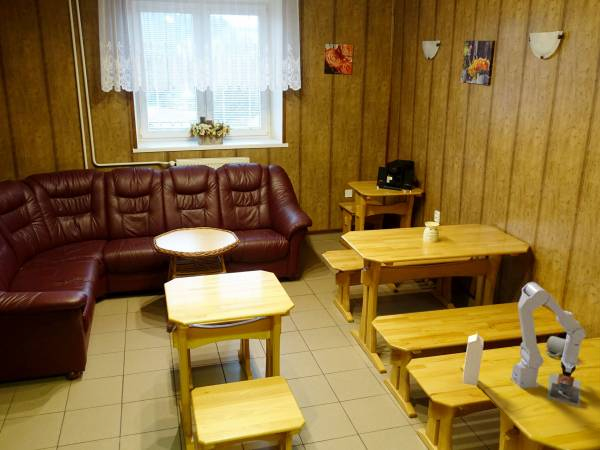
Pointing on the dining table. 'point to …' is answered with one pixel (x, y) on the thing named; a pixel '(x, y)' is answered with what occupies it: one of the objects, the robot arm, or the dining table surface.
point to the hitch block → (565, 388)
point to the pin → (565, 380)
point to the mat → (562, 397)
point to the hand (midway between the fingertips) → (565, 379)
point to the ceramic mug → (555, 346)
